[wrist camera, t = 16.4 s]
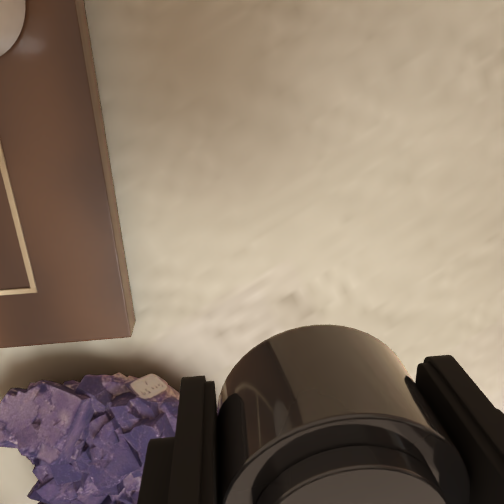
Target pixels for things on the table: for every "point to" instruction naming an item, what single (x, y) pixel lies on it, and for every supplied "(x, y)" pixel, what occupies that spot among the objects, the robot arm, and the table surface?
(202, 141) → the table surface
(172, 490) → the robot arm
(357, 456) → the lidded canister
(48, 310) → the game board
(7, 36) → the white stone
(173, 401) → the mineral specimen
